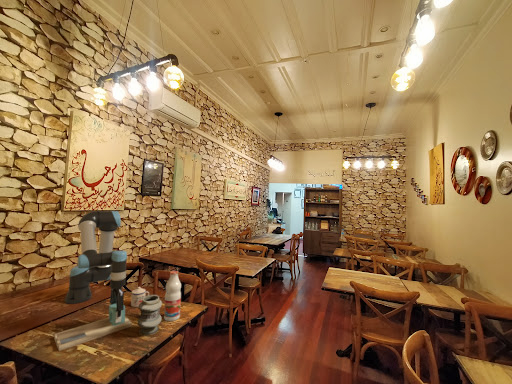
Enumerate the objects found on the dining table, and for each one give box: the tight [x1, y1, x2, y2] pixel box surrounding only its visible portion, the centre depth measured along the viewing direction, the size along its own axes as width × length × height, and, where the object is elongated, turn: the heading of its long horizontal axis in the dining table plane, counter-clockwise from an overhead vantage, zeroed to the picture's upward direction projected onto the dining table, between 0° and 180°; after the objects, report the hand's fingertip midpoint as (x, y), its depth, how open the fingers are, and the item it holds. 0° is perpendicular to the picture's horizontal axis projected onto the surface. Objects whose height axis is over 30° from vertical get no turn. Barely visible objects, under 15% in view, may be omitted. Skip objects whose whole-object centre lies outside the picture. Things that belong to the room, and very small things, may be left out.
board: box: [53, 315, 133, 352], centre depth 126 cm, size 15×32×5 cm, turn 138°
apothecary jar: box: [137, 294, 163, 337], centre depth 129 cm, size 12×12×18 cm
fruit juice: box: [163, 270, 182, 322], centre depth 145 cm, size 9×9×28 cm
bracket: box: [108, 304, 126, 326], centre depth 133 cm, size 8×6×9 cm
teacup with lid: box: [130, 286, 150, 308], centre depth 162 cm, size 12×9×12 cm
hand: (115, 319), depth 133 cm, fingers closed on bracket, 7 cm apart
